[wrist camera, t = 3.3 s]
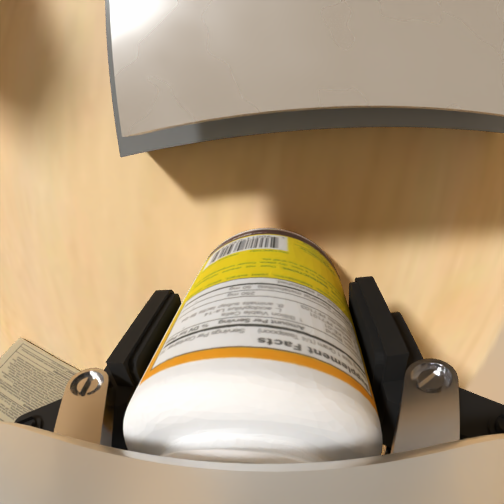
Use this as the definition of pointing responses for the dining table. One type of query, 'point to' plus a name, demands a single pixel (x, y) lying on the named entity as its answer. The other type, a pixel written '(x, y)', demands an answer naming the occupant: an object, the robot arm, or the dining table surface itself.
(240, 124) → the scale base
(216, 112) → the scale pan
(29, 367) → the skincare box
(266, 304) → the supplement bottle
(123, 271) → the dining table surface
